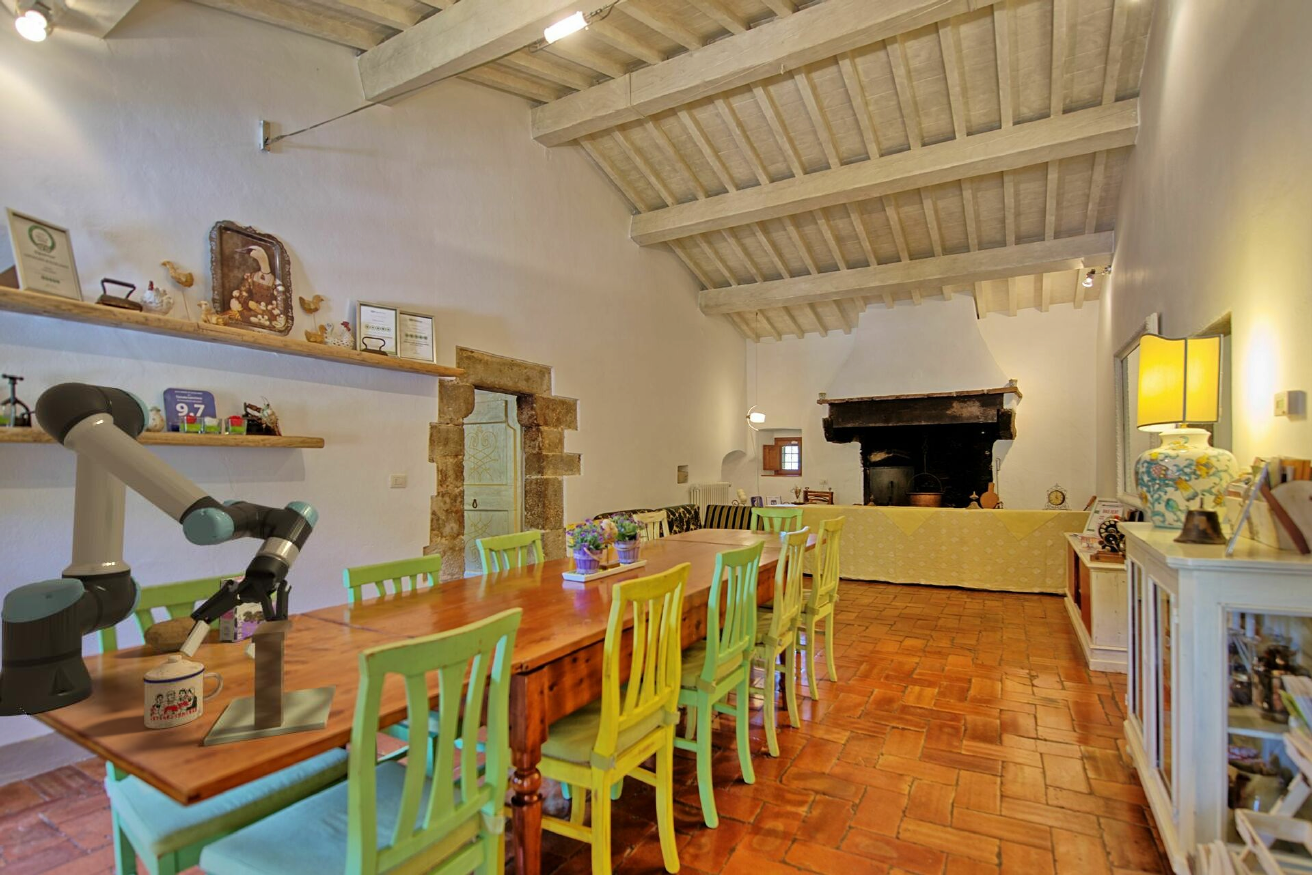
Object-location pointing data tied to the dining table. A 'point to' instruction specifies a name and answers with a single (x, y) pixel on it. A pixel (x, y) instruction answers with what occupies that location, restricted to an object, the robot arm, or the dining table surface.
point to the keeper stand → (272, 696)
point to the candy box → (241, 618)
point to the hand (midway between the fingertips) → (216, 654)
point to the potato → (170, 633)
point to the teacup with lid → (175, 693)
